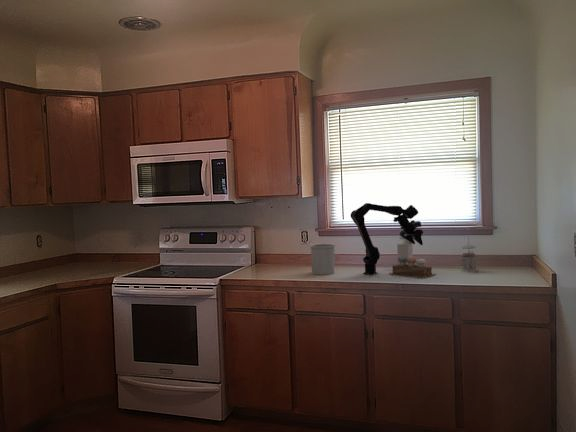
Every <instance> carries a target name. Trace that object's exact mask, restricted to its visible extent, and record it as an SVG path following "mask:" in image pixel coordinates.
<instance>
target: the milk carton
mask: <svg viewBox="0 0 576 432" xmlns="http://www.w3.org/2000/svg"><path fill="white" fill-rule="evenodd" d="M397 241H398V242H397V244H396V245H397V246H396V247H397V250H396V251H397V259H398V258H400V257H406V258H414V255H413V252H414V250H413V247H414V246H413V245H414V244H413V243H411V242H409V241H408V240H406V239H405V238H403V237H401V236H399V239H398V240H397ZM406 264H408V262H407V261H406ZM397 265H399V261H398V260H397Z"/></svg>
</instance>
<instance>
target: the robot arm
mask: <svg viewBox="0 0 576 432" xmlns="http://www.w3.org/2000/svg"><path fill="white" fill-rule="evenodd" d="M369 211H374V212H375V211H376V212H382V213H383V212H384V213H386V214H388V215H392V216H396V217H393V222H394V223H398V224H399V226H400V229H401V231H400V232H399V237H403V238H405V239H406V240H408V241H409V242H411V243H412V244H413V245H416V243H418V244H419V245H420V246H423V245H424V244H423V243H424V242H423V240H422V235H423V234H424V231H423V229H420V227H422V222H421V220H417V221H416V220H413V218H414V217H416V216H417V215H419V211H418V209H417V208H416V207H415V206H413V204H410V205H408V207H406V208H405V209H404V208H402V206H400V205H380V204H374V203H370V202H365V203H364V204H363V205H361V206H360V207H358V208H357V209H355V210H352V212H350V218H351V220H352V222H353V223H354V224H355V225H356V227H357V229H358V232H359V234H360V237H361V239H362V241H363V244H364V247H365V256H364V257H363V258H362V261H363V263H364V272H362V274H365V275H376V274H379V272H378V271H377V264H378V260H380V255H381V252H380V251H379V248H378V247H377V246H374V244H373V242H372V239H371V237H370V234H369V231H368V229H367V226H366V224H365V216H366V215H367V214H368V213H369ZM409 220H410V221H409ZM418 228H419V229H418Z"/></svg>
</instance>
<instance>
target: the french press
mask: <svg viewBox="0 0 576 432" xmlns="http://www.w3.org/2000/svg"><path fill="white" fill-rule="evenodd" d="M470 230H471V228H470V227H468V228H466V231H467V236H468V237H467V239H468V241H467V242H468V244H464V245H462V246H461V248H462V249H465V250H468V252H464V253H462V256H461V265H462V267H461V268H460V271H462V272H467V273H468V272H470V273H471V272H474V273H475V272H478V271H479V270H478V268H477V256H475V255H476V253H474V250H471V249H476V245H473V244H470V242H469V241H470V240H469V239H470V237H469V233H470V232H469V231H470ZM470 250H471V251H470Z"/></svg>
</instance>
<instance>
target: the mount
mask: <svg viewBox="0 0 576 432" xmlns="http://www.w3.org/2000/svg"><path fill="white" fill-rule="evenodd" d="M390 274H391V275H392V276H400V277H407V278H408V277H409V278H410V277H411V278H416V279H427V278H431V277H434V276H436V273H433V271H432V266H429V265H428V266H426V265H424V268H418V267H417V265H416V264H415V267H408V264H406V266H399V265H398V264H396V265H392V272H390V273H389V274H388V275H390Z"/></svg>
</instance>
